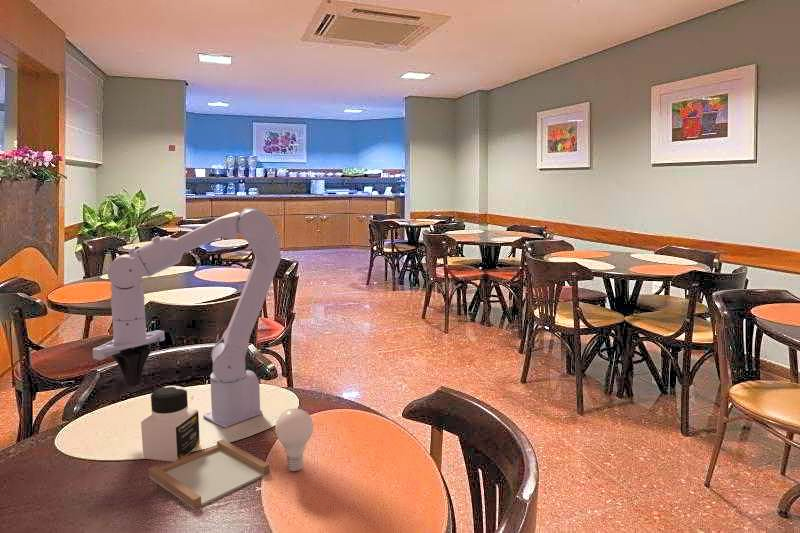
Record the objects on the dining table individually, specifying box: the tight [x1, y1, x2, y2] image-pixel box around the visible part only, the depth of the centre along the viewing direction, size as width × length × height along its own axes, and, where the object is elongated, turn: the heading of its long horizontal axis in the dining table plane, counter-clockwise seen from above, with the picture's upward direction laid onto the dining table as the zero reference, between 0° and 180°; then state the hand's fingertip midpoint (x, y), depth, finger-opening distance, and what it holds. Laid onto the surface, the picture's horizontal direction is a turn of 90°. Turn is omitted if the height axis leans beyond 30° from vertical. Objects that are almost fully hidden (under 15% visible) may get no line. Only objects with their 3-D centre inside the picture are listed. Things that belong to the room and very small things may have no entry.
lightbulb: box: [274, 407, 314, 472], centre depth 95 cm, size 6×6×11 cm
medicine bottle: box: [140, 385, 201, 463], centre depth 101 cm, size 7×7×12 cm
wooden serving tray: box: [148, 439, 271, 510], centre depth 94 cm, size 14×14×2 cm
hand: (133, 384), depth 109 cm, fingers closed
